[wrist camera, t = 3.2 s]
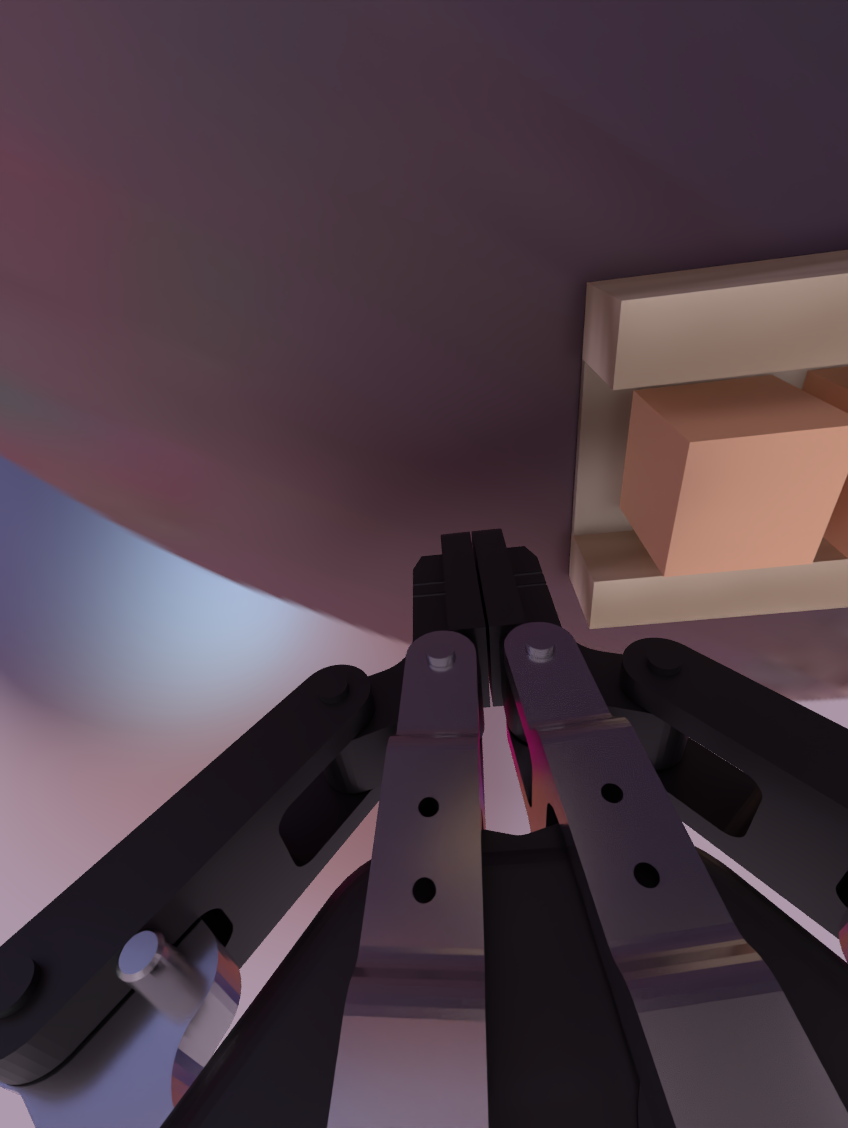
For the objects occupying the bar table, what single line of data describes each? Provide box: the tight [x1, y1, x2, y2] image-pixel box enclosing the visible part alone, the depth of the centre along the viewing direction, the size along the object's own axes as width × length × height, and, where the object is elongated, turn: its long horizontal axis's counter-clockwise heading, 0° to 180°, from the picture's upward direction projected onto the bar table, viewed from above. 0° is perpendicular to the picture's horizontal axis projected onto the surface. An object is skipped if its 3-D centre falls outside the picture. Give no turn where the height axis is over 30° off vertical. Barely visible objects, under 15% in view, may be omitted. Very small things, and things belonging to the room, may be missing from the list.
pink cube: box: [619, 375, 848, 577], centre depth 15 cm, size 4×4×4 cm
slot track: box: [569, 250, 848, 629], centre depth 15 cm, size 10×11×3 cm
